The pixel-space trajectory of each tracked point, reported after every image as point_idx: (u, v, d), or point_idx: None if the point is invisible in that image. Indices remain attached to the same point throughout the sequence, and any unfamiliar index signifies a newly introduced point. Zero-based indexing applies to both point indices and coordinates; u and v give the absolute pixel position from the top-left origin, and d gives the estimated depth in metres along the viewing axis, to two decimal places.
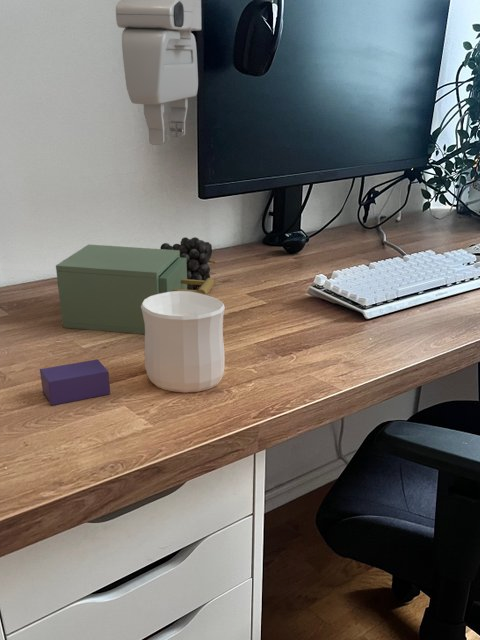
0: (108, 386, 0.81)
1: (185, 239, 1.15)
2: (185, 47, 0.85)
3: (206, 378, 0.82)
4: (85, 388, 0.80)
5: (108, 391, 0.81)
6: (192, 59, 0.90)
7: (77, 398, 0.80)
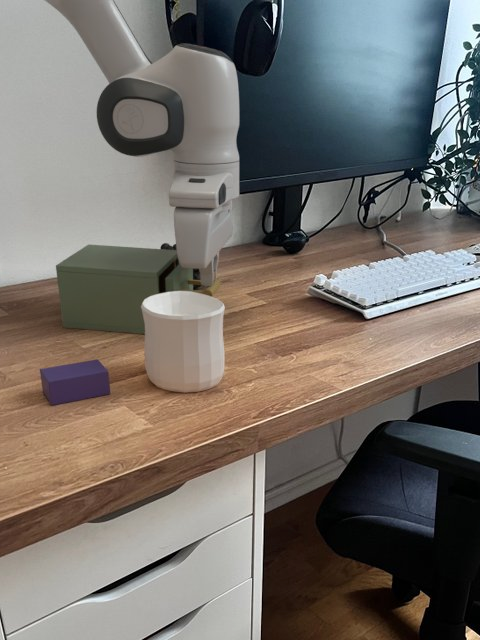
0: (108, 386, 0.81)
1: None
2: None
3: (206, 378, 0.82)
4: (85, 388, 0.80)
5: (108, 391, 0.81)
6: (229, 209, 1.02)
7: (77, 398, 0.80)
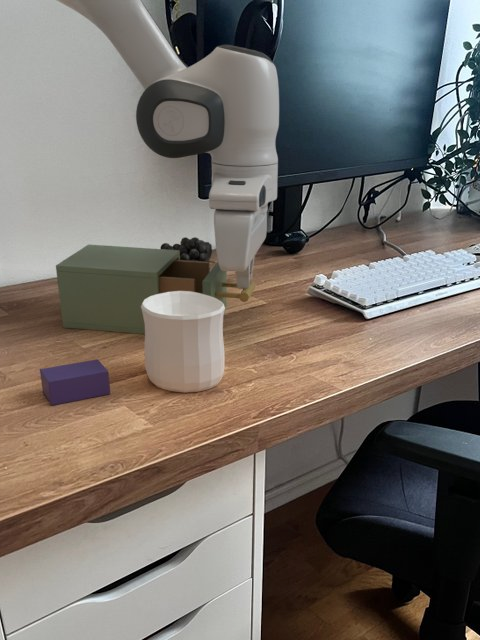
0: (108, 386, 0.81)
1: (185, 239, 1.15)
2: None
3: (206, 378, 0.82)
4: (85, 388, 0.80)
5: (108, 391, 0.81)
6: None
7: (77, 398, 0.80)
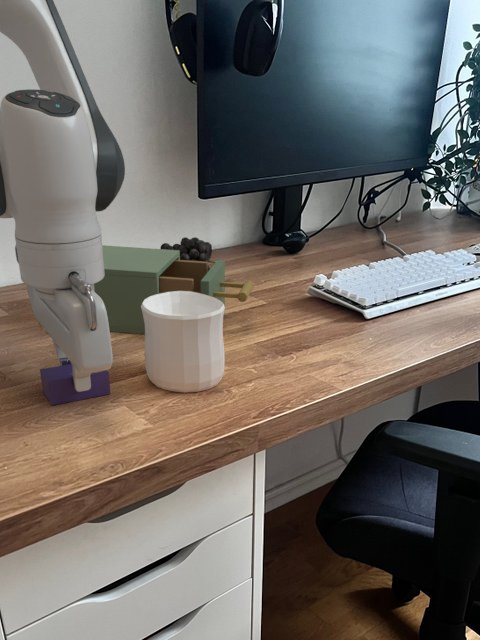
0: (108, 386, 0.81)
1: (185, 239, 1.15)
2: (56, 303, 0.72)
3: (206, 378, 0.82)
4: None
5: (108, 391, 0.81)
6: None
7: (77, 398, 0.80)
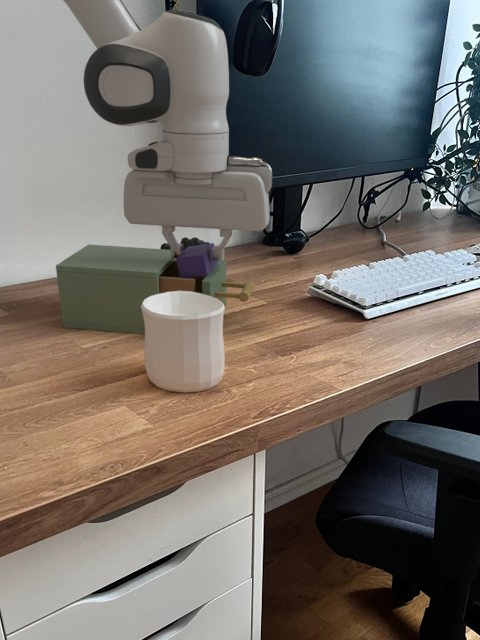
0: None
1: (185, 239, 1.15)
2: (215, 185, 0.92)
3: (206, 378, 0.82)
4: (211, 258, 0.99)
5: None
6: (245, 197, 0.92)
7: (211, 268, 0.99)
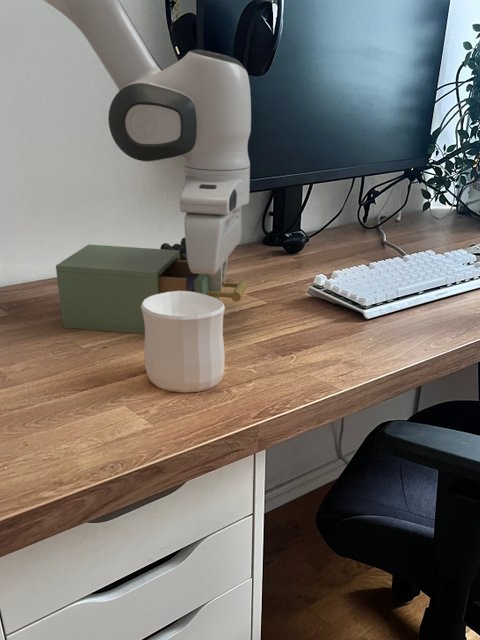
0: (195, 277, 1.04)
1: None
2: None
3: (206, 378, 0.82)
4: (189, 282, 1.01)
5: None
6: None
7: None
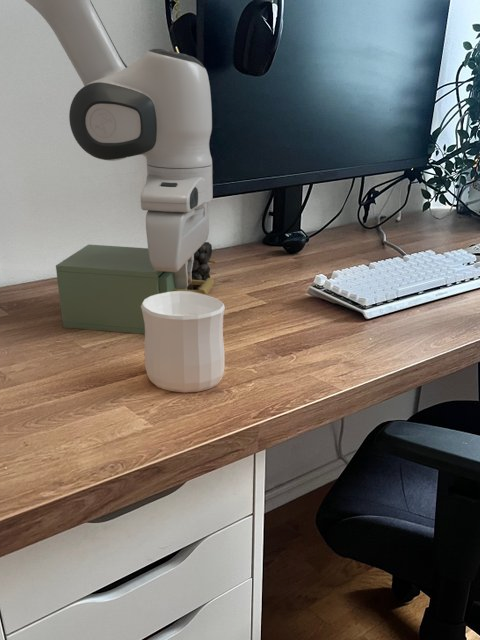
0: None
1: None
2: None
3: (206, 378, 0.82)
4: None
5: None
6: (204, 213, 1.03)
7: None
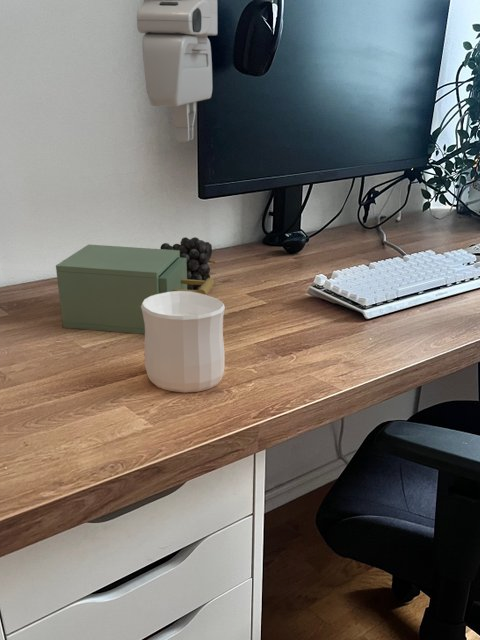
0: None
1: (185, 239, 1.15)
2: (201, 51, 0.88)
3: (206, 378, 0.82)
4: None
5: None
6: (207, 63, 0.93)
7: None
